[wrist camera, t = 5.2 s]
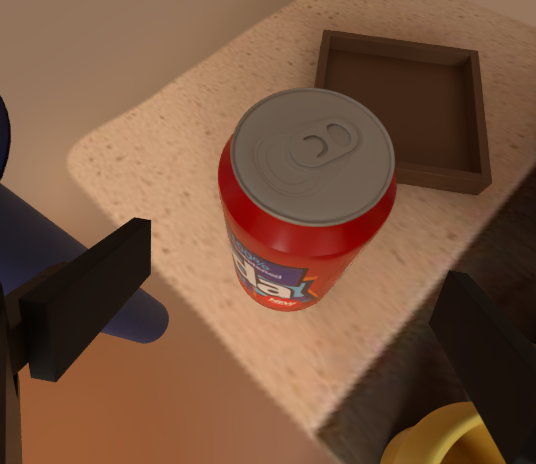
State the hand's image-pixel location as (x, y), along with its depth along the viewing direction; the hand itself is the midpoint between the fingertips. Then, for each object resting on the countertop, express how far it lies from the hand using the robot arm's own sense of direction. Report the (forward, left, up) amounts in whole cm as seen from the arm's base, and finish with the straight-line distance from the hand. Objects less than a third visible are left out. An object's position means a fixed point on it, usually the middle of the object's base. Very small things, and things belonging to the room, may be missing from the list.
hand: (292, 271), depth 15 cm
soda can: (0, +4, -12) cm, 12 cm away
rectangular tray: (+8, +21, -11) cm, 25 cm away
